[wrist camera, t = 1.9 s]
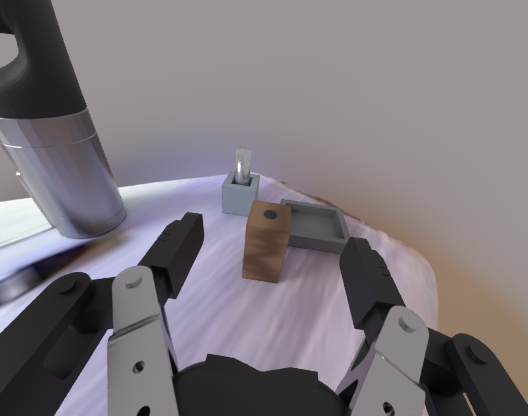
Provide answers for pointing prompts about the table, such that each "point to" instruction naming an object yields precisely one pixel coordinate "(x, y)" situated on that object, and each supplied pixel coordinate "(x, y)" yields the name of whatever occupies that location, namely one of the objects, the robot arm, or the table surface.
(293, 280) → the table surface
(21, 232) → the table surface
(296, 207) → the tray
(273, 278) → the walnut block
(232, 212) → the square socket block
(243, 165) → the cylinder
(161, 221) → the table surface
